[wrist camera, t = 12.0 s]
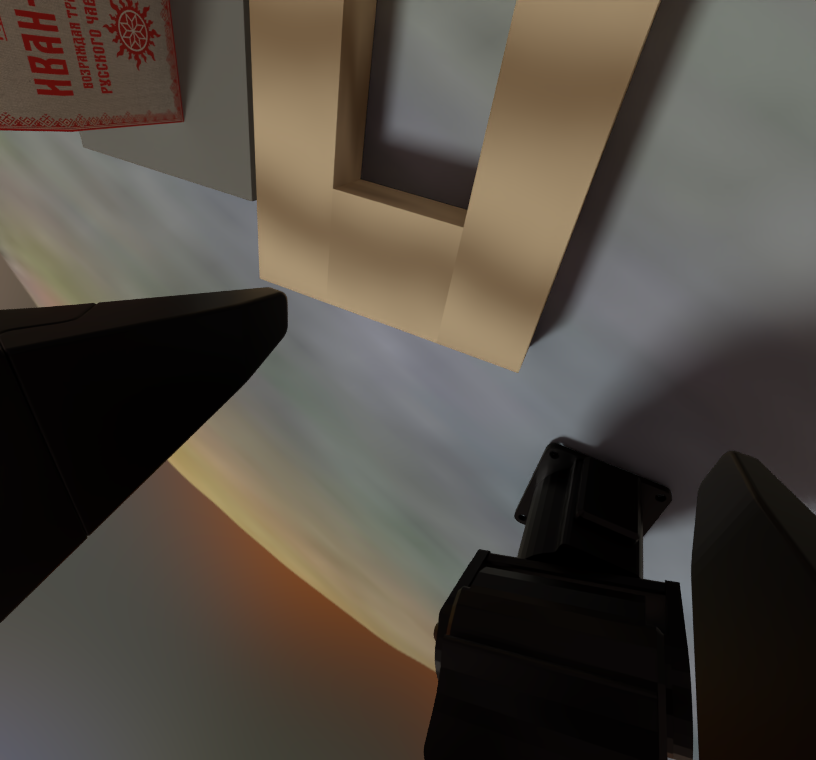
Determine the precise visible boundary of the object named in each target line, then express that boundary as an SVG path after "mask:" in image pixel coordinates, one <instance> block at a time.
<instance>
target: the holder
mask: <svg viewBox="0 0 816 760" xmlns="http://www.w3.org/2000/svg"><path fill="white" fill-rule="evenodd" d="M660 2H661V0H517V1H516V5H515V9H514V14H513V18H512V22H511V26H510V31H509V35H508V39H507V44H506V48H505V52H504V56H503V61H502V65H501V69H500V73H499V78H498V82H497V86H496V91H495V95H494V99H493V103H492V108H491V112H490V116H489V120H488V125H487V129H486V133H485V138H484V142H483V146H482V150H481V155H480V159H479V163H478V168H477V172H476V176H475V180H474V185H473V189H472V193H471V197H470V202H469V206H468V210H466V209H462V208H459V207H455V206H452V205H448V204H445V203H441V202H438V201H434V200H431V199H427V198H424V197H420V196H417V195H414V194H410V193H407V192H403V191H400V190H396V189H393V188H389V187H386V186H382V185H379V184H375V183H372V182H368V181H365V180H362V179H360V178H361V167H362V157H363V146H364V135H365V124H366V113H367V102H368V91H369V80H370V69H371V58H372V47H373V36H374V25H375V14H376V3H377V0H249V8H250V34H251V60H252V86H253V112H254V138H255V164H256V190H257V216H258V242H259V268H260V279H263V280H266V281H268V282H271V283H274V284H277V285H279V286H282V287H285V288H288V289H290V290H293V291H296V292H298V293H301V294H304V295H307V296H309V297H312V298H315V299H318V300H320V301H323V302H326V303H329V304H331V305H334V306H337V307H339V308H342V309H345V310H348V311H350V312H353V313H356V314H359V315H361V316H364V317H367V318H369V319H372V320H375V321H378V322H380V323H383V324H386V325H389V326H391V327H394V328H397V329H399V330H402V331H405V332H408V333H410V334H413V335H416V336H419V337H421V338H424V339H427V340H430V341H432V342H435V343H438V344H440V345H443V346H446V347H449V348H451V349H454V350H457V351H460V352H462V353H465V354H468V355H470V356H473V357H476V358H479V359H481V360H484V361H487V362H490V363H492V364H495V365H498V366H500V367H503V368H506V369H509V370H511V371H514V372H517V373H518V372H519V370H520V368H521V365H522V363H523V360H524V358H525V356H526V353H527V351H528V349H529V346H530V343H531V341H532V338H533V335H534V333H535V330H536V328H537V325H538V322H539V320H540V317H541V314H542V312H543V309H544V307H545V304H546V301H547V299H548V296H549V293H550V291H551V288H552V286H553V283H554V280H555V278H556V275H557V272H558V270H559V267H560V265H561V262H562V259H563V257H564V254H565V251H566V249H567V246H568V244H569V241H570V238H571V236H572V233H573V231H574V228H575V225H576V223H577V220H578V217H579V215H580V212H581V210H582V207H583V204H584V202H585V199H586V196H587V194H588V191H589V189H590V186H591V183H592V181H593V178H594V175H595V173H596V170H597V168H598V165H599V162H600V160H601V157H602V154H603V152H604V149H605V147H606V144H607V141H608V139H609V136H610V133H611V131H612V128H613V126H614V123H615V120H616V118H617V115H618V112H619V110H620V107H621V105H622V102H623V99H624V97H625V94H626V91H627V89H628V86H629V84H630V81H631V78H632V76H633V73H634V70H635V68H636V65H637V63H638V60H639V57H640V55H641V52H642V49H643V47H644V44H645V42H646V39H647V36H648V34H649V31H650V28H651V26H652V23H653V21H654V18H655V15H656V13H657V10H658V7H659V5H660Z"/></svg>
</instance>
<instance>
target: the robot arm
mask: <svg viewBox="0 0 816 760" xmlns="http://www.w3.org/2000/svg"><path fill="white" fill-rule="evenodd" d="M287 328H288V301H287V296H286V295H285V293H283V292H281V291H278V290H276V289H273V288H269V287H265V288H254V289H243V290H232V291H221V292H210V293H199V294H188V295H177V296H166V297H155V298H144V299H133V300H122V301H111V302H100V303H98V304H95V303H88V304H77V305H65V306H53V307H40V308H26V309H25V308H24V309H7V310H0V623H1V622H2V621H3V620H4V619H5V618H6V617H7V616H8V615H9V614H10V613H11V612H12V611H13V610H14V609H15V608H16V607H17V606H18V605H19V604H20V603H21V602H22V601H23V600H24V599H25V598H27V597H28V596H29V595H30V594H31V593H32V592H33V591H34V590H35V589H36V588H37V587H38V586H39V585H40V584H41V583H42V582H43V581H44V580H45V579H46V578H47V577H48V576H49V575H50V574H51V573H52V572H53V571H54V570H55V569H56V568H57V567H58V566H59V565H60V564H61V563H62V562H63V561H64V560H65V559H66V558H67V557H68V556H69V555H71V554H72V553H73V552H74V551H75V550H76V549H77V548H78V547H79V546H80V544H82V543H83V542H84V541H85V540H86V539H87V536H89V535H91V534H92V533H93V532H94V531H95V530H96V529H97V528H98V527H99V526H100V525H101V524H102V523H103V522H104V521H105V520H106V519H107V518H108V517H109V516H110V515H111V514H112V513H113V512H114V511H115V510H116V509H117V508H118V507H119V506H120V505H121V504H122V503H123V502H124V501H125V500H126V499H127V498H129V497H130V495H132V494H133V493H134V492H135V491H136V490H137V489H138V488H139V487H140V486H141V485H142V484H143V483H144V482H145V481H146V480H147V479H148V478H149V477H150V476H151V475H152V474H153V473H154V472H155V471H156V470H157V469H158V468H159V467H160V466H161V465H162V464H163V463H164V462H165V461H166V460H167V459H168V458H170V457H171V456H172V455H173V454H174V453H175V452H176V451H177V450H178V449H179V448H180V447H181V446H182V445H183V444H184V443H185V442H186V441H187V440H188V439H189V438H190V437H191V436H192V435H193V434H194V433H195V432H196V431H197V430H198V429H199V428H200V427H201V426H202V425H203V424H204V423H205V422H206V421H207V420H208V419H209V418H210V417H212V416H213V415H214V414H215V413H216V412H217V411H218V410H219V409H220V408H221V407H222V406H223V405H224V404H225V403H226V402H227V401H228V400H229V399H230V398H231V397H232V396H233V395H234V394H235V393H236V392H237V391H238V390H239V389H240V388H241V387H242V386H243V385H244V384H245V383H246V382H247V381H248V380H249V379H250V377H251V376H252V375H253V374H254V373H255V371H256V370H257V369H258V368H259V367H260V365H261V364H262V363H263V362H264V361H265V359H266V358H267V357H268V356H269V354H270V353H271V352H272V351H273V350H274V348H275V347H276V346H277V345H278V343H279V342H280V341H281V340H282V339H283V337H284V336H285V334H286V332H287ZM553 451H554V452H557V453H558V454H553V453H552V452H553ZM657 494H662V495H664V496H658V495H657ZM671 501H672V494H671V490H670V489H669V488H667V487H666V486H663V485H661V484H658V483H656V482H653V481H651V480H648V479H646V478H643V477H641V476H638V475H636V474H633V473H631V472H628V471H625V470H623V469H620V468H618V467H615V466H613V465H610V464H608V463H605V462H603V461H600V460H598V459H595V458H593V457H590V456H588V455H585V454H582V453H580V452H577V451H575V450H572V449H570V448H567V447H565V446H562V445H560V444H556V443H551V444H549V445H548V446H547V447H546V449H545V451H544V453H543V455H542V457H541V459H540V461H539V463H538V465H537V467H536V469H535V471H534V473H533V476H532V478H531V480H530V482H529V484H528V486H527V488H526V490H525V492H524V494H523V496H522V498H521V500H520V502H519V504H518V507H517V509H516V511H515V515H514V517H515V519H516V520H517V521H518V522H520V523H522V524H524V525H525V529H524V533H523V537H522V540H521V544H520V548H519V552H518V556H517V557H511V556H505V555H499V554H493V553H491V552H490V551H487V550H481V549H479V550H478V551H477V553H476V555H475V556H474V558H473V559H472V561H471V562H470V563H469V565H468V567H467V568H466V570H465V571H464V573H463V575H462V576H461V578H460V579H459V581H458V583H457V584H456V586H455V587H454V589H453V591H452V592H451V594H450V595H449V597H448V599H447V600H446V602H445V603H444V605H443V607H442V608H441V610H440V613H439V621H438V623H437V624H436V626H435V629H434V639H435V641H436V645H435V668H436V674H437V678H438V687H437V694H436V698H435V703H434V707H433V712H432V716H431V720H430V724H429V728H428V733H427V737H426V741H425V745H424V759H425V760H667V757H668V758H672V759H676V760H693V716H692V693H691V677H690V665H689V655H688V646H687V638H686V630H685V622H684V614H683V606H682V598H681V590H680V583H679V582H673V581H667V580H665V582H659V581H653V580H647V579H643V536H644V535H645V534H646V533H647V531H648V530H649V529H650V528H651V526H652V525H653V524H654V523H655V521H656V520H657V519H658V518H659V516H660V515H661V514H662V513H663V511H664V510H665V509H666V508H667V506H668V505H669V504H670V503H671ZM523 515H524V516H523ZM691 585H692V608H693V631H694V654H695V677H696V700H697V723H698V746H699V760H816V515H815V514H814V513H813V512H811V511H810V510H809V509H808V508H807V507H806V506H805V505H804V504H803V503H802V502H801V501H800V500H799V499H798V498H797V497H796V496H795V495H794V494H793V493H792V492H791V491H790V490H789V489H788V488H787V487H786V486H785V485H784V484H783V483H782V482H781V481H780V480H778V479H777V478H776V477H775V476H774V475H773V474H772V473H771V472H770V471H769V470H768V469H767V468H766V467H765V466H764V465H763V464H762V463H761V462H760V461H759V460H758V459H756V458H754V457H751V456H748V455H745V454H742V453H740V452H737V451H728V452H726V453H725V454H724V455H723V456H722V457H721V458H720V460H719V461H718V462H717V463H716V465H715V466H714V467H713V468H712V470H711V471H710V472H709V474H708V475H707V476H706V477H705V479H704V480H703V481H702V483H701V485H700V488H699V491H698V497H697V507H696V518H695V528H694V539H693V549H692V562H691Z"/></svg>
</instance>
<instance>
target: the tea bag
mask: <svg viewBox="0 0 816 760" xmlns="http://www.w3.org/2000/svg"><path fill="white" fill-rule="evenodd" d="M180 122H184V118H183V109H182V101H181V93H180V84H179V76H178V67H177V59H176V51H175V42H174V34H173V26H172V17H171V9H170V1H169V0H0V130H13V131H63V132H74V131H86V130H98V129H109V128H121V127H133V126H145V125H156V124H168V123H180Z"/></svg>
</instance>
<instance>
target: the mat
mask: <svg viewBox="0 0 816 760" xmlns="http://www.w3.org/2000/svg"><path fill="white" fill-rule="evenodd" d="M169 1H170V9H171V17H172V26H173V34H174V42H175V51H176V59H177V67H178V76H179V84H180V93H181V101H182V109H183V118H184V122H180V123H168V124H156V125H145V126H133V127H121V128H109V129H98V130H86V131H80V135H81V139H82V144H83V147H84V148H88V149H91V150H94V151H97V152H100V153H103V154H106V155H109V156H112V157H116V158H119V159H122V160H125V161H128V162H131V163H134V164H137V165H140V166H144V167H147V168H150V169H153V170H156V171H159V172H162V173H165V174H169V175H172V176H175V177H178V178H181V179H184V180H187V181H190V182H193V183H197V184H200V185H203V186H206V187H209V188H212V189H215V190H218V191H221V192H225V193H228V194H231V195H234V196H237V197H240V198H243V199H246V200H250V201H255V200H257V190H256V164H255V138H254V112H253V86H252V60H251V34H250V8H249V0H169Z"/></svg>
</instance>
